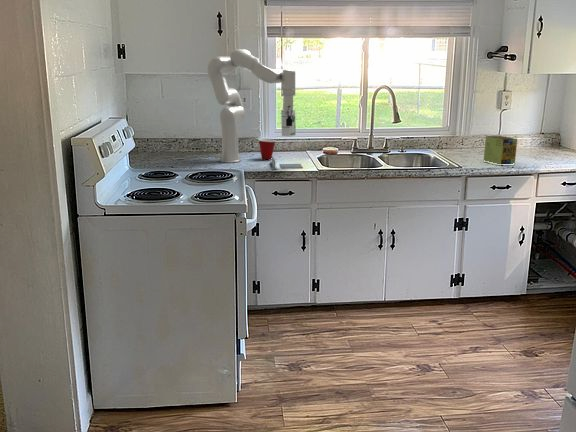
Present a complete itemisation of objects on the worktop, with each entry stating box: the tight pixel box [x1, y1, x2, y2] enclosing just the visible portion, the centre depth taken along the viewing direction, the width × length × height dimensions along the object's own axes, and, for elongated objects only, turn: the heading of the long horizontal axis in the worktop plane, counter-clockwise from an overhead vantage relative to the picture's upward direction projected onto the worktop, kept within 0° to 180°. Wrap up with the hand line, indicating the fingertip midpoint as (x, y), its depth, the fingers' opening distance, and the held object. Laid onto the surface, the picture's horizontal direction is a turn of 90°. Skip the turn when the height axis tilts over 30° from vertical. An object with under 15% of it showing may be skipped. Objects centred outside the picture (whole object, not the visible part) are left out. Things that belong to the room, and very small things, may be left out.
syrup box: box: [280, 108, 297, 138], centre depth 331 cm, size 6×6×14 cm
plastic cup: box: [258, 138, 277, 160], centre depth 359 cm, size 11×11×12 cm
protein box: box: [483, 135, 518, 164], centre depth 350 cm, size 10×15×16 cm
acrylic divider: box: [269, 154, 278, 171], centre depth 336 cm, size 3×20×5 cm, turn 5°
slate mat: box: [279, 163, 304, 169], centre depth 338 cm, size 12×12×1 cm
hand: (288, 125), depth 331 cm, fingers closed on syrup box, 7 cm apart
